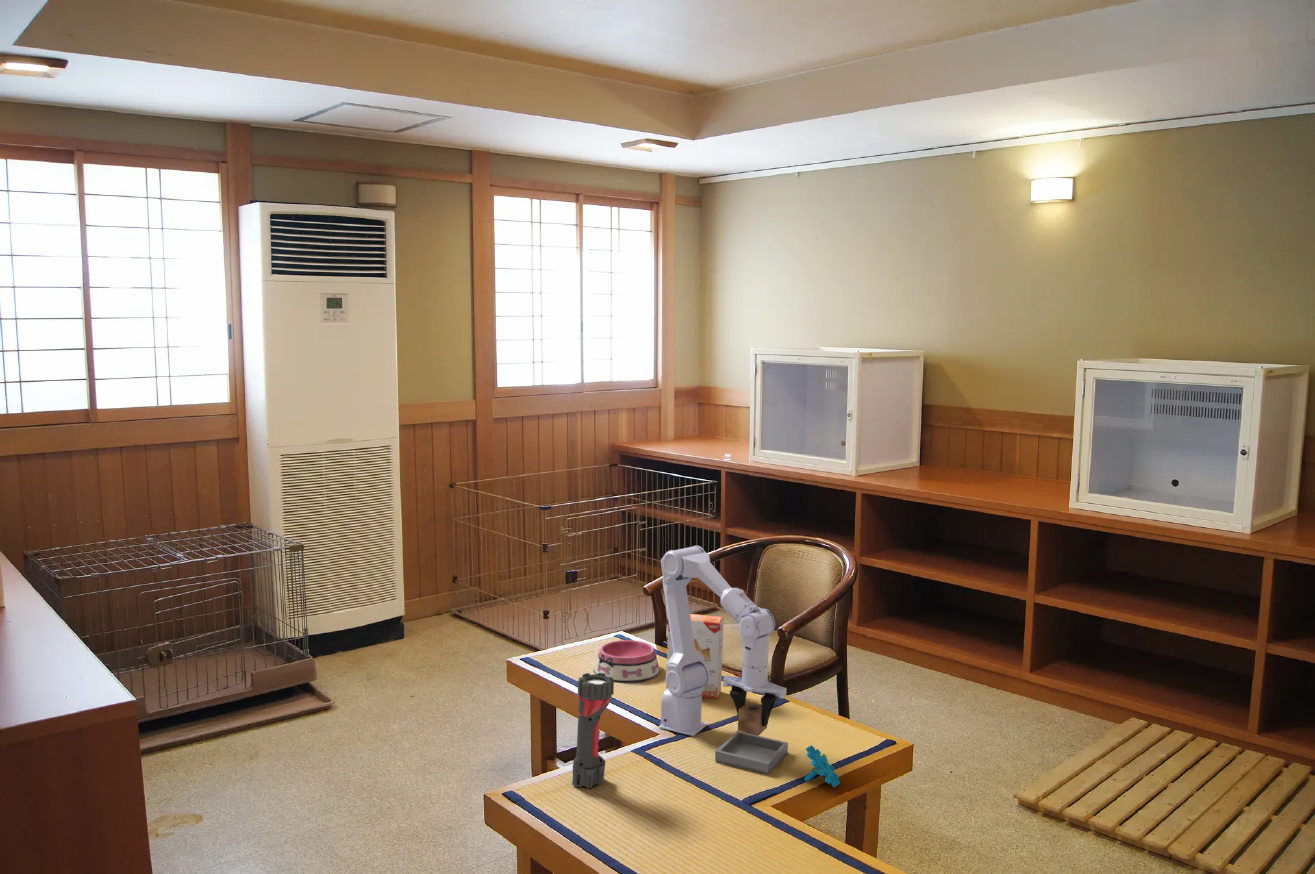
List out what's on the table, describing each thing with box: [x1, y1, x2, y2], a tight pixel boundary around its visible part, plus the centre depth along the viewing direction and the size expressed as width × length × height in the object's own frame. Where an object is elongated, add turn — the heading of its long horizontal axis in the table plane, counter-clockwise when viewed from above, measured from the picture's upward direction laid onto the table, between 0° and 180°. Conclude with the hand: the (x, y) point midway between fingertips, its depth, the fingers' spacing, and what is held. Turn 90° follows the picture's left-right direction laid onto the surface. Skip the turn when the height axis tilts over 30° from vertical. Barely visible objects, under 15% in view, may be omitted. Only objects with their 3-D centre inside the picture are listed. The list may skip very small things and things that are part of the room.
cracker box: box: [665, 613, 724, 700], centre depth 255 cm, size 14×6×21 cm, turn 76°
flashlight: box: [571, 672, 615, 789], centre depth 204 cm, size 8×8×23 cm
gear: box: [804, 744, 841, 788], centre depth 208 cm, size 11×6×10 cm
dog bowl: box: [593, 639, 661, 684], centre depth 271 cm, size 18×19×7 cm
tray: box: [714, 730, 789, 776], centre depth 219 cm, size 13×13×2 cm
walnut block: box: [737, 701, 768, 736], centre depth 218 cm, size 5×5×5 cm
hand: (753, 722), depth 218 cm, fingers closed on walnut block, 5 cm apart
